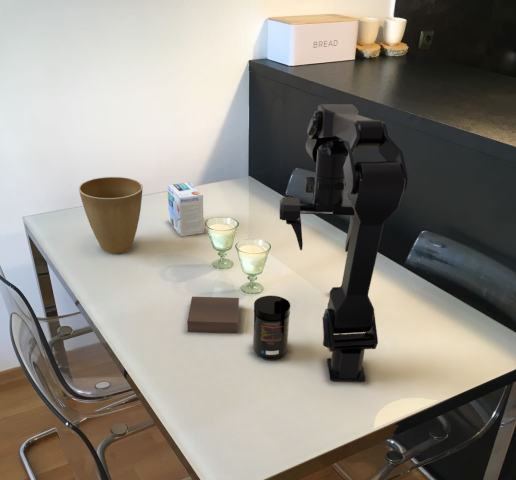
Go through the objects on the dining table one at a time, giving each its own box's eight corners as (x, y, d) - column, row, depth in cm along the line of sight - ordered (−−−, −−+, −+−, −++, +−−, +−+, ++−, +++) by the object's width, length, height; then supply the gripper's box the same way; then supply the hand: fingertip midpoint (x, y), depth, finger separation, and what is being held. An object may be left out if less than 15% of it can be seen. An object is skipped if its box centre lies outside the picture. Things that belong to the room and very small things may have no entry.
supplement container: (282, 339, 119) (285, 293, 113) (291, 359, 114) (294, 312, 108) (249, 343, 118) (250, 297, 112) (256, 362, 112) (258, 315, 106)
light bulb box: (168, 222, 166) (166, 184, 160) (191, 218, 168) (190, 181, 162) (181, 237, 158) (179, 197, 152) (204, 233, 160) (204, 194, 154)
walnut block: (237, 333, 120) (237, 322, 119) (187, 331, 120) (187, 321, 119) (238, 307, 129) (238, 297, 127) (192, 306, 129) (191, 296, 127)
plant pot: (89, 263, 144) (80, 200, 135) (86, 238, 155) (77, 178, 146) (151, 257, 147) (146, 195, 138) (143, 233, 159) (138, 174, 150)
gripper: (373, 163, 120) (364, 236, 128) (280, 160, 120) (277, 233, 128) (382, 181, 111) (371, 258, 119) (281, 177, 111) (277, 255, 119)
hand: (323, 250), depth 122 cm, fingers open, 9 cm apart
